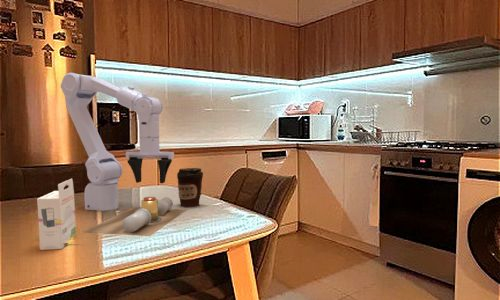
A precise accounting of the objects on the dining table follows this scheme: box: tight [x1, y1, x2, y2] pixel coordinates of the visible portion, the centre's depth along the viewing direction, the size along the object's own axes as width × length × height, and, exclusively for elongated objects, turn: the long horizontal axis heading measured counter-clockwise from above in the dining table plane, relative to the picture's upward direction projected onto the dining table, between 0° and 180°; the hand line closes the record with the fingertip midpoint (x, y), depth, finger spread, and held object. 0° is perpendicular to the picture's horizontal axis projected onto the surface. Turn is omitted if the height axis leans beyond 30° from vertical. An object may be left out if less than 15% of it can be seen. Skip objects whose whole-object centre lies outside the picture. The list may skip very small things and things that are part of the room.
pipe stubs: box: [122, 196, 174, 233], centre depth 101 cm, size 5×23×5 cm, turn 170°
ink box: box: [36, 178, 77, 251], centre depth 84 cm, size 9×5×15 cm, turn 5°
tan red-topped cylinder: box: [140, 196, 159, 222], centre depth 100 cm, size 4×4×6 cm
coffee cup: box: [176, 167, 204, 208], centre depth 118 cm, size 9×8×13 cm
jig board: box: [82, 206, 187, 237], centre depth 102 cm, size 18×26×1 cm
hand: (150, 182), depth 110 cm, fingers open, 7 cm apart
